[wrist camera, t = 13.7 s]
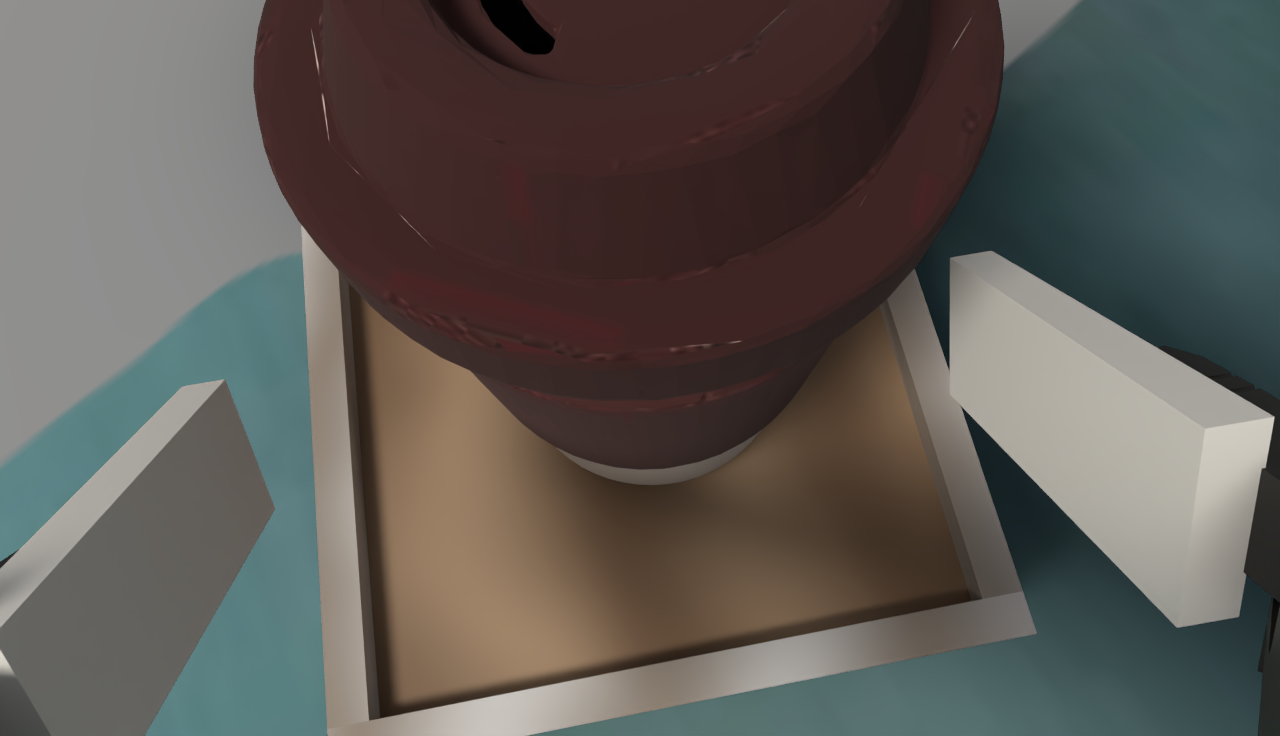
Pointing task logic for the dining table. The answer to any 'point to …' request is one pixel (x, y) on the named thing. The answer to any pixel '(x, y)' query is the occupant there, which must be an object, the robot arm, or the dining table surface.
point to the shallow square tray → (633, 538)
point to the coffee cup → (628, 191)
